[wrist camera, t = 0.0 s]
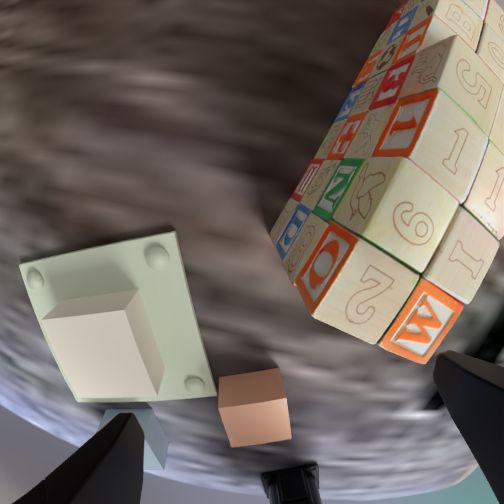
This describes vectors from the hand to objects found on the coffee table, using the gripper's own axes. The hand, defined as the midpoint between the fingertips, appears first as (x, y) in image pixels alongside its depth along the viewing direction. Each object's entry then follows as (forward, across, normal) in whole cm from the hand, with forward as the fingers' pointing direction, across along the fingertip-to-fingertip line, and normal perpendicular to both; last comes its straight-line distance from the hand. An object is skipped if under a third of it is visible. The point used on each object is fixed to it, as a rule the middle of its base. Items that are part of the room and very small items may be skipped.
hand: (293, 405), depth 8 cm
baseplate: (+15, +12, +4) cm, 19 cm away
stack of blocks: (+15, -10, -8) cm, 20 cm away
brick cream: (+14, +12, +4) cm, 19 cm away
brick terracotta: (+15, +2, +12) cm, 19 cm away
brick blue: (+15, +14, +15) cm, 26 cm away
